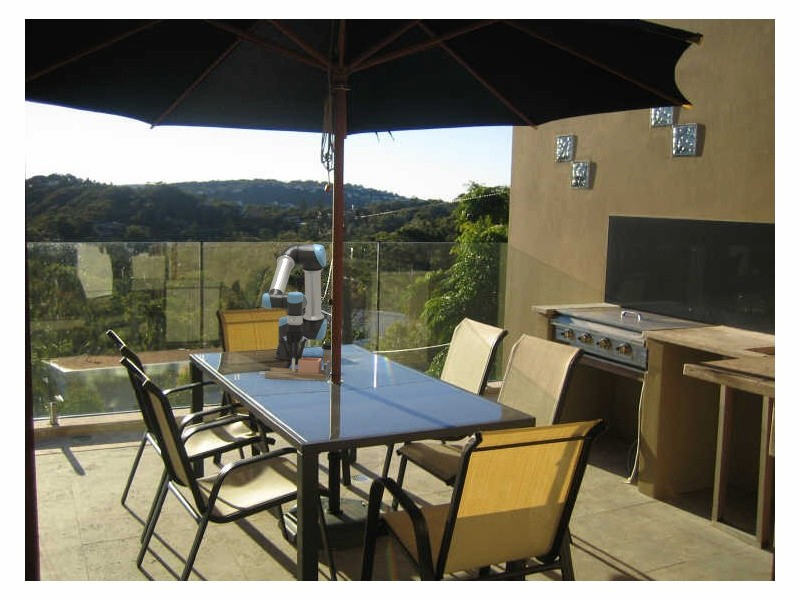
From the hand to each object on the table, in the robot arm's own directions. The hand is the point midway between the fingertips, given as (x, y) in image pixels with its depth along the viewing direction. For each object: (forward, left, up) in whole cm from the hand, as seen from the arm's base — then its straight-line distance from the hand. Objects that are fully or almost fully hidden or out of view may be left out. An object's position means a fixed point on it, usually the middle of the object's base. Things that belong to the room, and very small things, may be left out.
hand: (293, 371), depth 407 cm
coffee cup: (-13, +16, -3) cm, 21 cm away
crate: (0, +8, -2) cm, 8 cm away
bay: (0, +2, -3) cm, 4 cm away
